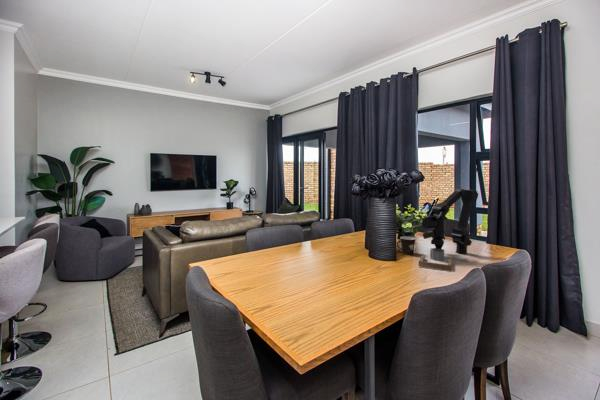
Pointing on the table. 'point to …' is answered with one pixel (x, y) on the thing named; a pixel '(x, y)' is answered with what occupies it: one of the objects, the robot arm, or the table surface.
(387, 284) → the table surface
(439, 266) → the corral
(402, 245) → the coffee mug
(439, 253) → the tumbler
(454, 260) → the felt coaster
